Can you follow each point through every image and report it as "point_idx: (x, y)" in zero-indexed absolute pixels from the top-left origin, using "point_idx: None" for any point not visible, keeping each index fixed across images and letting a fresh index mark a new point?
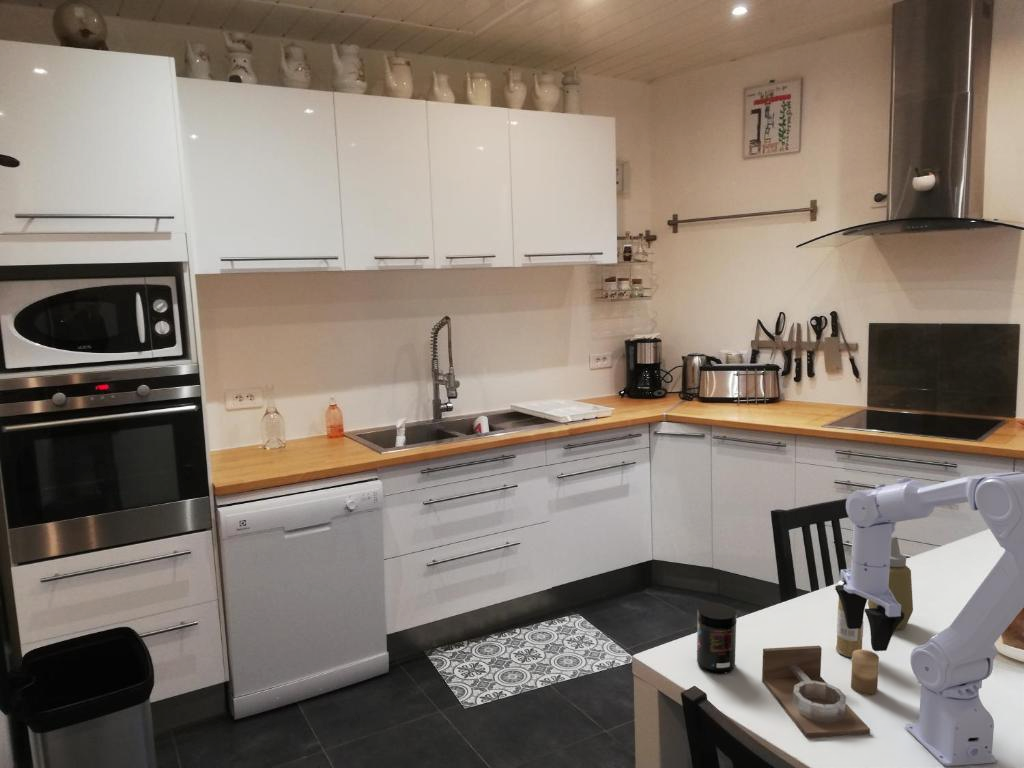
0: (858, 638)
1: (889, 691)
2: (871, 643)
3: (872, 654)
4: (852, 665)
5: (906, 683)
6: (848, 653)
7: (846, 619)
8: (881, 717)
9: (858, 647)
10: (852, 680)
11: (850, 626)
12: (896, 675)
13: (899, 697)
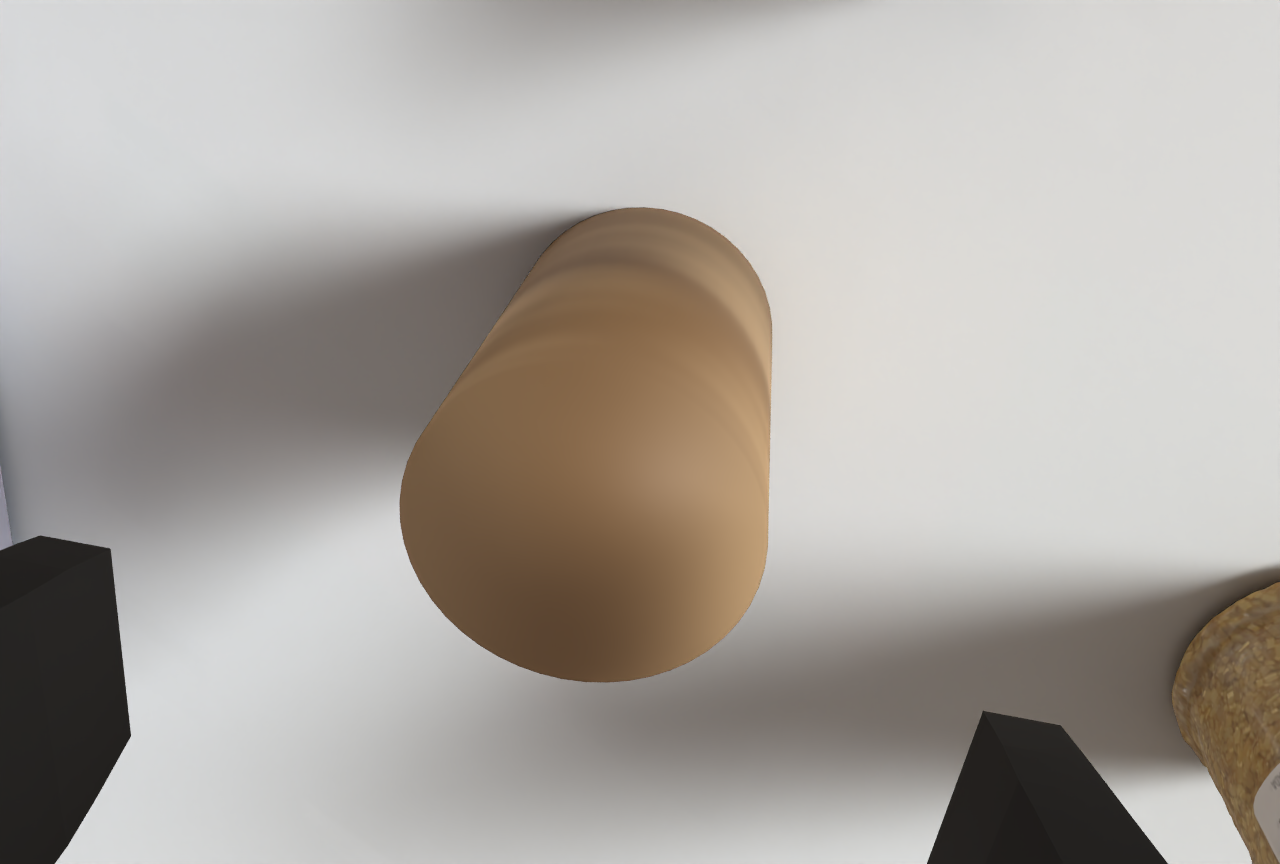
0: (1261, 842)
1: None
2: (10, 593)
3: (582, 632)
4: (665, 311)
5: (631, 729)
6: (1243, 628)
7: (1101, 846)
8: (140, 135)
9: (1217, 760)
10: (660, 239)
11: (983, 770)
12: (767, 749)
13: None
